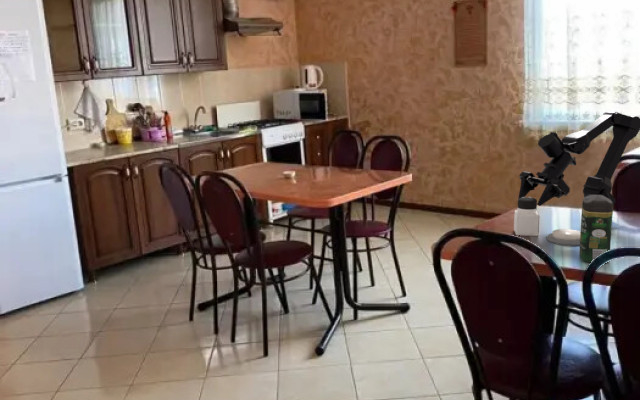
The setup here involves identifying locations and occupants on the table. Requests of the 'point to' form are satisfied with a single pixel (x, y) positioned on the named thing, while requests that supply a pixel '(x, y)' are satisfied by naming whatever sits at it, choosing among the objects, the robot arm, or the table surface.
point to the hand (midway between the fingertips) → (528, 202)
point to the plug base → (569, 243)
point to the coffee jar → (595, 226)
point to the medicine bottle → (526, 217)
